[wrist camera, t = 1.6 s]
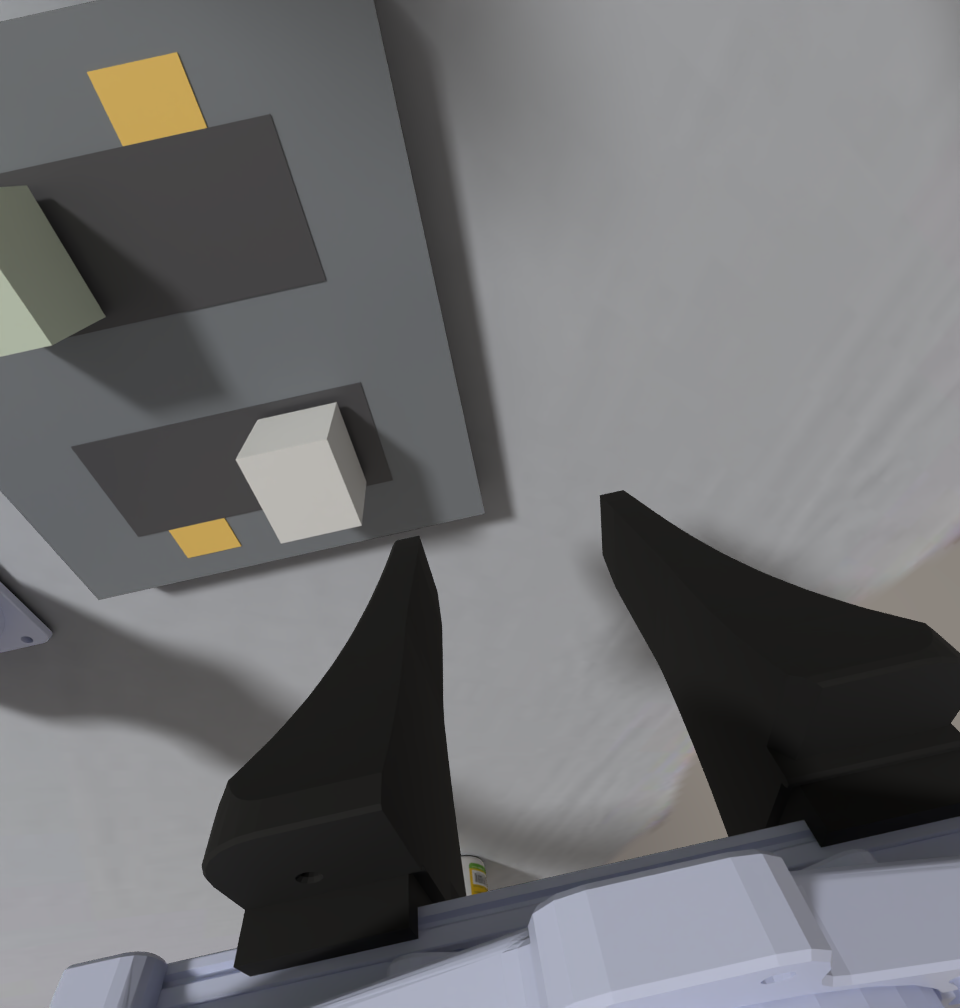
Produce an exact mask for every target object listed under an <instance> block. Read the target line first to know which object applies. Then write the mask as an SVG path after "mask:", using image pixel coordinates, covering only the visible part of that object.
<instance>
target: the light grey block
mask: <svg viewBox="0 0 960 1008" xmlns="http://www.w3.org/2000/svg"><path fill="white" fill-rule="evenodd" d="M236 461H237V463H238V465H239V467H240V469H241V471H242V472H243V474H244V476H245V478H246V480H247V482H248V483H249V485H250V487H251V489H252V491H253V493H254V495H255V496H256V498H257V500H258V502H259V504H260V506H261V508H262V509H263V511H264V513H265V515H266V517H267V519H268V520H269V522H270V524H271V526H272V528H273V530H274V532H275V533H276V535H277V537H278V539H279V541H280V543H281V544H282V543H286V542H291V541H295V540H300V539H304V538H309V537H313V536H318V535H322V534H326V533H331V532H335V531H340V530H344V529H349V528H353V527H358V526H362V519H363V510H364V500H365V491H366V479H365V477H364V474H363V471H362V469H361V466H360V463H359V461H358V458H357V455H356V453H355V450H354V447H353V445H352V442H351V439H350V437H349V434H348V431H347V429H346V426H345V423H344V421H343V418H342V415H341V413H340V410H339V407H338V404H337V402H335V403H331V404H326V405H322V406H317V407H313V408H308V409H304V410H299V411H295V412H290V413H286V414H281V415H277V416H272V417H268V418H263V419H259V420H257V422H256V423H255V425H254V427H253V429H252V431H251V432H250V434H249V436H248V438H247V440H246V441H245V443H244V445H243V447H242V449H241V450H240V452H239V454H238V456H237V458H236Z"/></svg>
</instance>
